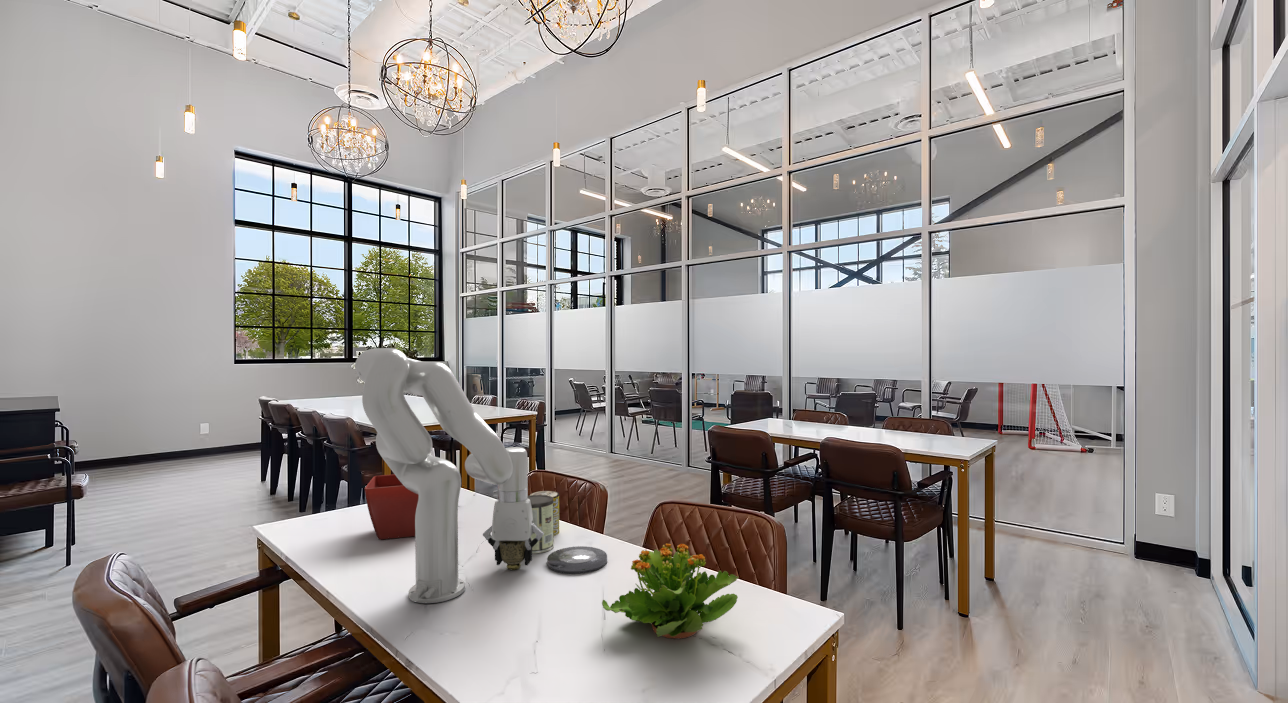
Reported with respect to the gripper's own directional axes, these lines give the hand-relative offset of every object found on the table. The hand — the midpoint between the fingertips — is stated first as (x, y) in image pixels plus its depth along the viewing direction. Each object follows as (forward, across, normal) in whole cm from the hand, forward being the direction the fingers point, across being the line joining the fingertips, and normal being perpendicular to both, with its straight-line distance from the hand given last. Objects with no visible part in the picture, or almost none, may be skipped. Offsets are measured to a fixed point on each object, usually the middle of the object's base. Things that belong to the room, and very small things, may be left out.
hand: (513, 562), depth 148 cm
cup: (+2, 0, 0) cm, 2 cm away
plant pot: (+2, -44, +29) cm, 53 cm away
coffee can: (+2, +2, +16) cm, 16 cm away
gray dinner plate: (+2, +16, +5) cm, 17 cm away
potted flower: (+2, +43, -30) cm, 52 cm away
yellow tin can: (+2, +2, +30) cm, 30 cm away
